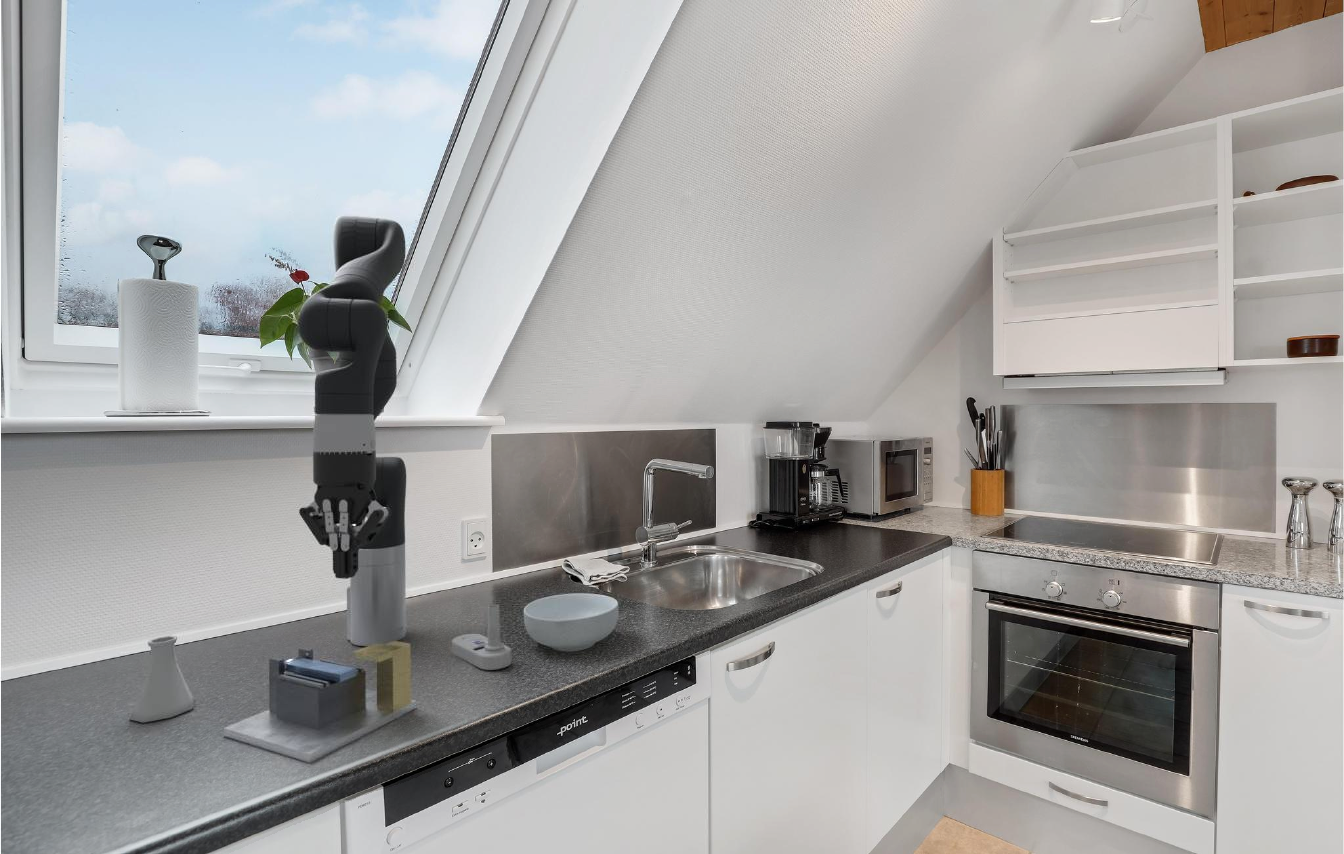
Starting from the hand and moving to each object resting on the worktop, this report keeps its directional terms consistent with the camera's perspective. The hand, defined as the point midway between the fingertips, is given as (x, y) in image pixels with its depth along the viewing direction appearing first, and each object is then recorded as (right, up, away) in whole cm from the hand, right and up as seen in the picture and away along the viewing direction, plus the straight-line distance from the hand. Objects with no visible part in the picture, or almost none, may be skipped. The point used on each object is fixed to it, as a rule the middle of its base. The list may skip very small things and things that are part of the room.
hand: (345, 577), depth 87 cm
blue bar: (-3, -13, -1) cm, 13 cm away
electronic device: (+12, -19, +22) cm, 31 cm away
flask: (-26, -19, +2) cm, 32 cm away
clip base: (-2, -19, -1) cm, 19 cm away
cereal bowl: (+26, -19, +29) cm, 43 cm away
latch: (+5, -18, 0) cm, 18 cm away
